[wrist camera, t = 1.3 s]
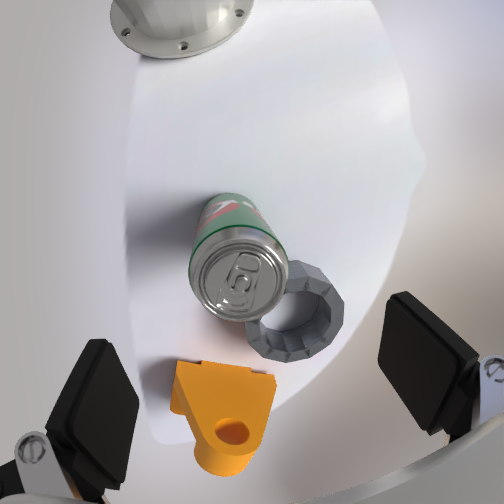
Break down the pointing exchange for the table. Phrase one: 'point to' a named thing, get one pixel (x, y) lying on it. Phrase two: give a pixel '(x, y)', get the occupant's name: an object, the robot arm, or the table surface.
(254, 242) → the soda can
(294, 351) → the rosette ring
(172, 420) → the table surface
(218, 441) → the bracket
